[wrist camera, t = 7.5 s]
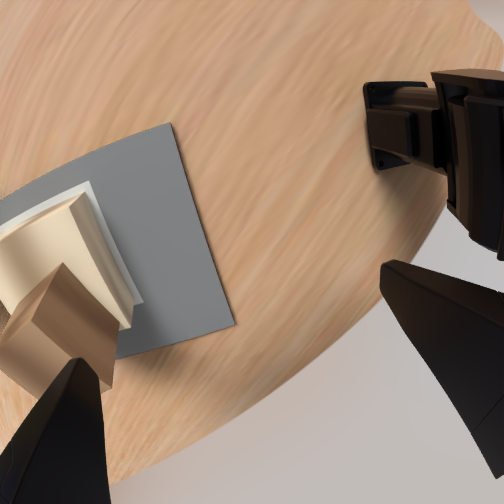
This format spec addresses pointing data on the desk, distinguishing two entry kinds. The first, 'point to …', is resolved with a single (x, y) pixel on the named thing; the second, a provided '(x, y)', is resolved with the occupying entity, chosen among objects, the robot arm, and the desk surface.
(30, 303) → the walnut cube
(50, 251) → the maple slab
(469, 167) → the robot arm
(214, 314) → the build mat
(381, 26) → the desk surface
